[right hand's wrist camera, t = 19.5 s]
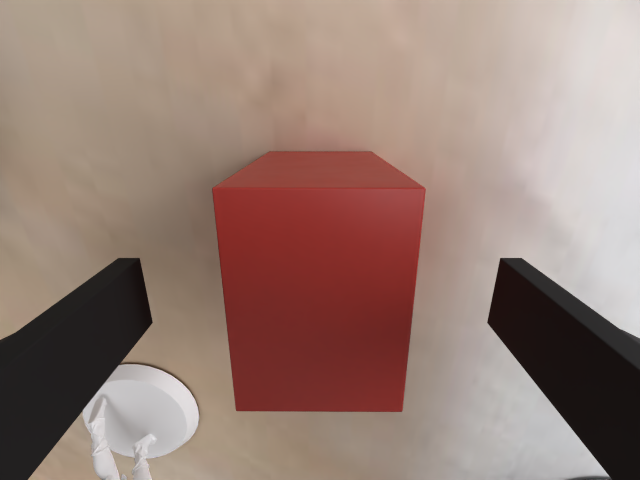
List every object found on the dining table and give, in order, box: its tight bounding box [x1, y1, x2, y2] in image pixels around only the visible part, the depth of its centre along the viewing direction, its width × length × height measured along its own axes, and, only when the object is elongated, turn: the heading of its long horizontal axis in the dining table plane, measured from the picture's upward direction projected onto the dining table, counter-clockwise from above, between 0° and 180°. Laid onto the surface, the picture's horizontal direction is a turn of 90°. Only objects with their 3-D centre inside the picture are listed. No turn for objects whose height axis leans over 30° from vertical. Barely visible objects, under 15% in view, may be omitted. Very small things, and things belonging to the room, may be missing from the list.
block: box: [212, 152, 426, 412], centre depth 17 cm, size 9×6×12 cm
